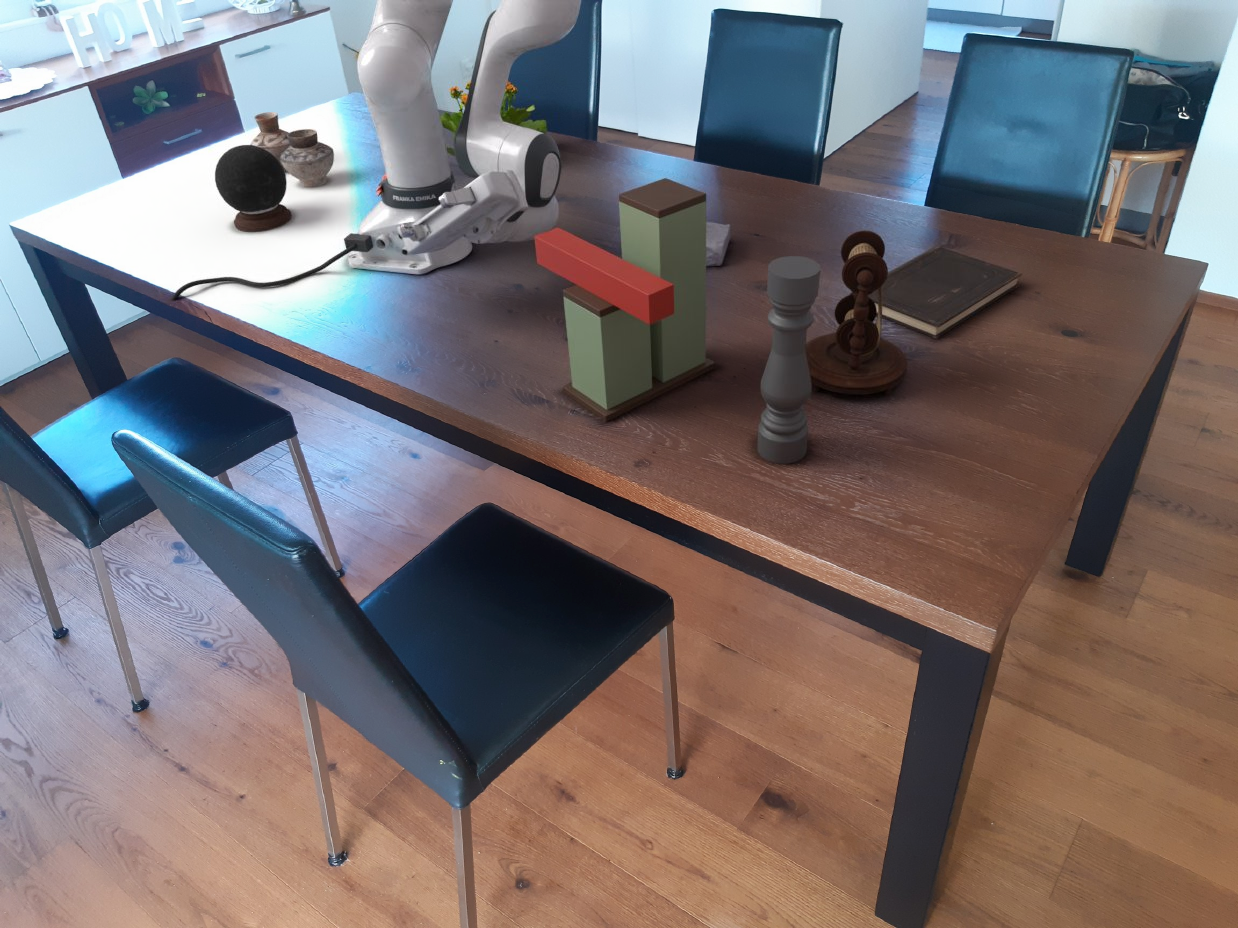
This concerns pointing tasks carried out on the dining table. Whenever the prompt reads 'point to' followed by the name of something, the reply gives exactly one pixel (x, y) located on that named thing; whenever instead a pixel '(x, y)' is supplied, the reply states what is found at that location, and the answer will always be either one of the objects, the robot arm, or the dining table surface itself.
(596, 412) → the step shelf
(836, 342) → the scroll
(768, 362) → the candle holder
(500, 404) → the dining table surface
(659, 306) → the red bar
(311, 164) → the pottery
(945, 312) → the hardcover book
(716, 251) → the stone block
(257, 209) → the black ball on stand
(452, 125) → the potted flower
